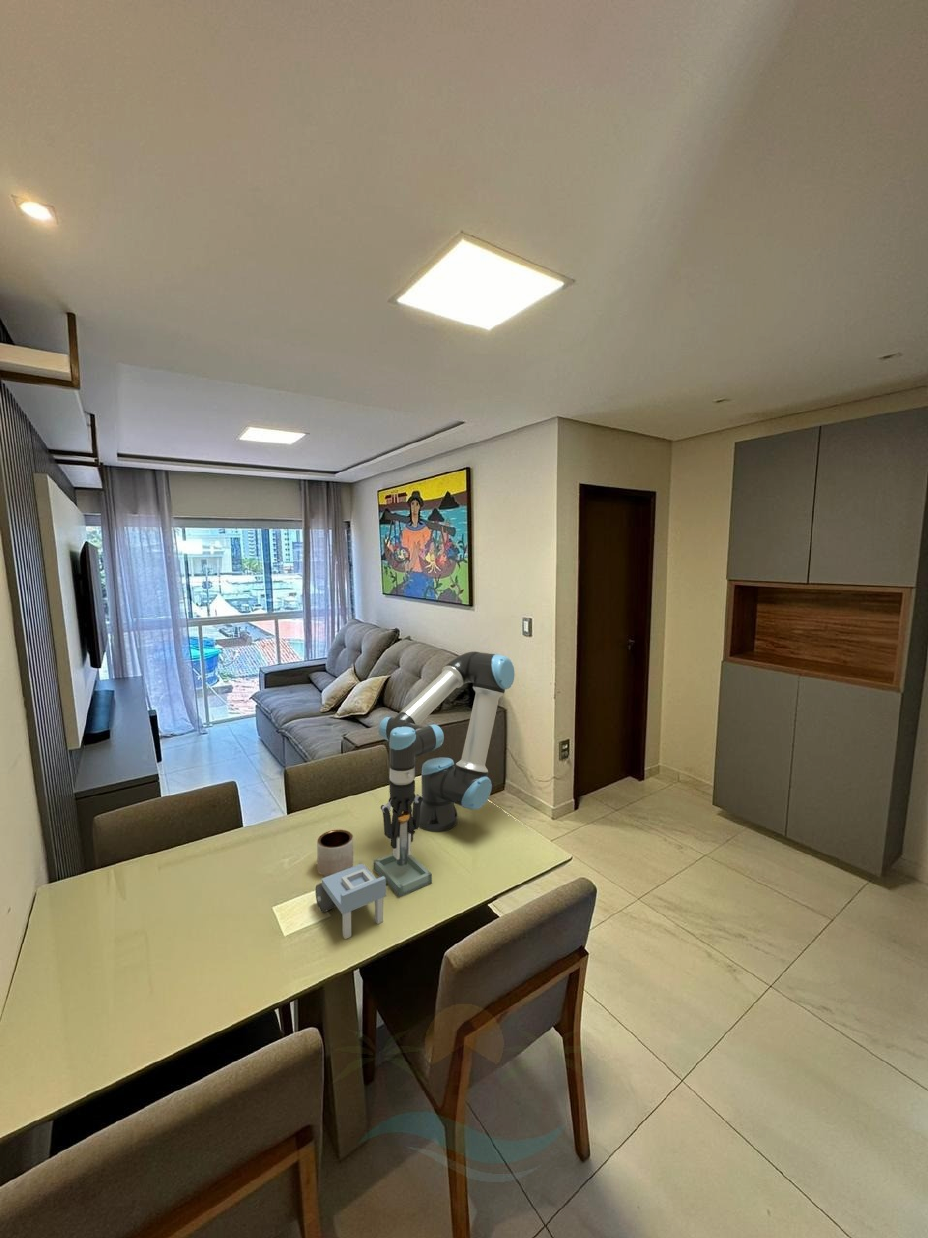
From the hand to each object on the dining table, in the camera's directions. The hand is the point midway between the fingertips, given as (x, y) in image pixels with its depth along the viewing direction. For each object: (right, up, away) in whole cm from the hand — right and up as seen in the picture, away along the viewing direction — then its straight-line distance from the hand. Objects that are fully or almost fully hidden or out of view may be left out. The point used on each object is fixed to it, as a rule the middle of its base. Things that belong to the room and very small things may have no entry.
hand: (401, 854), depth 148 cm
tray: (0, -7, +1) cm, 7 cm away
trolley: (-12, -8, -15) cm, 21 cm away
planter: (-21, -6, +5) cm, 23 cm away
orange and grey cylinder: (0, -2, 0) cm, 3 cm away
